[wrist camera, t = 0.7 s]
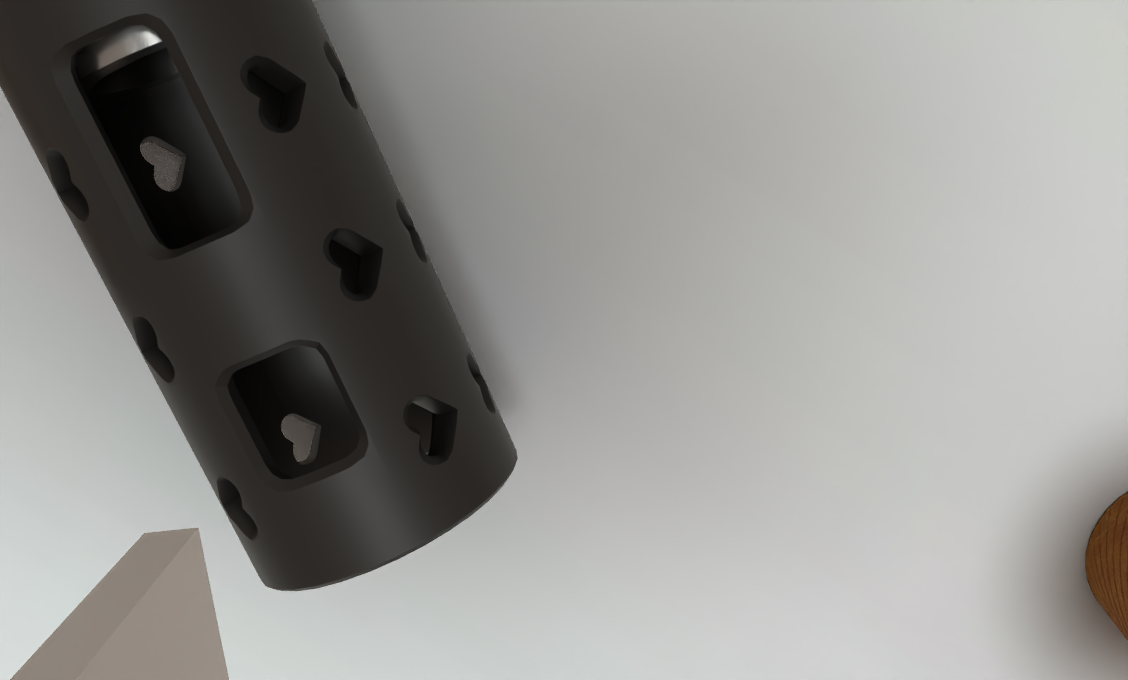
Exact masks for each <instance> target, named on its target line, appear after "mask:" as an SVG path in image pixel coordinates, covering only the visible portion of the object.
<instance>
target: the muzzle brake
mask: <svg viewBox="0 0 1128 680" xmlns="http://www.w3.org/2000/svg"><path fill="white" fill-rule="evenodd" d="M0 87H1V89H2V91H3V92H4V94H5V96H6V98H7V100H8V102H9V104H10V106H11V108H12V109H13V111H14V113H15V115H16V117H17V119H18V121H19V123H20V125H21V127H22V128H23V130H24V132H25V134H26V136H27V138H28V140H29V142H30V144H31V145H32V147H33V149H34V151H35V153H36V155H37V157H38V159H39V161H40V162H41V164H42V166H43V168H44V170H45V172H46V174H47V176H48V178H49V180H50V181H51V183H52V185H53V187H54V189H55V191H56V193H57V195H58V197H59V198H60V200H61V202H62V204H63V206H64V208H65V210H66V212H67V214H68V215H69V217H70V219H71V221H72V223H73V225H74V227H75V229H76V231H77V233H78V234H79V236H80V238H81V240H82V242H83V244H84V246H85V248H86V250H87V251H88V253H89V255H90V257H91V259H92V261H93V263H94V265H95V267H96V268H97V270H98V272H99V274H100V276H101V278H102V280H103V282H104V284H105V286H106V287H107V289H108V291H109V293H110V295H111V297H112V299H113V301H114V303H115V304H116V306H117V308H118V310H119V312H120V314H121V316H122V318H123V320H124V321H125V323H126V325H127V327H128V329H129V331H130V333H131V335H132V337H133V339H134V340H135V342H136V344H137V346H138V348H139V350H140V352H141V354H142V356H143V357H144V359H145V361H146V363H147V365H148V367H149V369H150V371H151V373H152V374H153V376H154V378H155V380H156V382H157V384H158V386H159V388H160V390H161V392H162V393H163V395H164V397H165V399H166V401H167V403H168V405H169V407H170V409H171V410H172V412H173V414H174V416H175V418H176V420H177V422H178V424H179V426H180V427H181V429H182V431H183V433H184V435H185V437H186V439H187V441H188V443H189V445H190V446H191V448H192V450H193V452H194V454H195V456H196V458H197V460H198V462H199V463H200V465H201V467H202V469H203V471H204V473H205V475H206V477H207V479H208V481H209V482H210V484H211V486H212V488H213V490H214V492H215V494H216V496H217V498H218V499H219V501H220V503H221V505H222V507H223V509H224V511H225V513H226V515H227V516H228V518H229V520H230V522H231V524H232V526H233V528H234V530H235V532H236V534H237V535H238V537H239V539H240V541H241V543H242V545H243V547H244V549H245V551H246V552H247V554H248V556H249V558H250V560H251V562H252V564H253V566H254V568H255V569H256V571H257V573H258V575H259V577H260V579H261V580H262V582H263V583H264V584H265V586H267V587H270V588H273V589H276V590H281V591H301V590H308V589H315V588H320V587H324V586H328V585H331V584H335V583H339V582H342V581H345V580H348V579H351V578H353V577H356V576H359V575H362V574H365V573H367V572H370V571H372V570H375V569H377V568H379V567H381V566H384V565H386V564H388V563H390V562H393V561H395V560H397V559H399V558H401V557H403V556H405V555H407V554H409V553H411V552H413V551H415V550H417V549H419V548H421V547H422V546H424V545H426V544H428V543H429V542H431V541H433V540H434V539H436V538H438V537H439V536H441V535H443V534H444V533H446V532H448V531H449V530H451V529H452V528H454V527H455V526H457V525H458V524H459V523H461V522H462V521H464V520H465V519H467V518H468V517H469V516H471V515H472V514H473V513H475V512H476V511H477V510H478V509H479V508H481V507H482V506H483V505H484V504H485V503H487V502H488V501H489V500H490V499H491V498H492V497H493V496H494V495H495V494H496V493H497V492H498V491H499V489H500V488H501V487H502V486H503V485H504V483H505V482H506V480H507V479H508V478H509V476H510V475H511V473H512V471H513V469H514V467H515V464H516V461H517V452H516V448H515V446H514V444H513V442H512V440H511V437H510V435H509V433H508V431H507V429H506V426H505V424H504V422H503V420H502V418H501V415H500V413H499V411H498V409H497V407H496V404H495V402H494V400H493V398H492V396H491V393H490V391H489V389H488V387H487V385H486V382H485V380H484V379H483V377H482V375H481V373H480V370H479V367H478V365H477V363H476V360H475V358H474V356H473V354H472V352H471V349H470V347H469V345H468V343H467V341H466V338H465V336H464V334H463V332H462V330H461V327H460V325H459V323H458V321H457V319H456V316H455V314H454V312H453V310H452V308H451V305H450V303H449V301H448V299H447V297H446V295H445V292H444V290H443V288H442V286H441V284H440V281H439V279H438V277H437V275H436V273H435V270H434V268H433V266H432V264H431V262H430V259H429V257H428V255H427V253H426V251H425V248H424V246H423V244H422V242H421V240H420V237H419V235H418V233H417V232H416V230H415V228H414V226H413V222H412V220H411V218H410V215H409V213H408V211H407V209H406V207H405V204H404V202H403V200H402V198H401V196H400V193H399V191H398V189H397V187H396V185H395V182H394V180H393V178H392V176H391V174H390V171H389V169H388V167H387V165H386V163H385V160H384V158H383V156H382V154H381V152H380V149H379V147H378V145H377V143H376V141H375V138H374V136H373V134H372V132H371V130H370V127H369V125H368V123H367V121H366V119H365V116H364V114H363V112H362V110H361V108H360V105H359V103H358V101H357V99H356V97H355V94H354V92H353V90H352V88H351V86H350V84H349V82H348V80H347V79H346V76H345V73H344V70H343V68H342V66H341V64H340V62H339V59H338V57H337V55H336V53H335V51H334V48H333V46H332V44H331V42H330V40H329V37H328V35H327V33H326V31H325V29H324V26H323V24H322V22H321V20H320V18H319V15H318V13H317V11H316V9H315V7H314V4H313V2H312V0H0ZM145 142H150V143H155V144H157V145H159V146H161V147H163V148H165V149H167V150H168V151H170V152H172V153H175V154H177V155H179V156H181V157H183V158H182V162H181V165H180V168H179V172H178V176H177V181H176V185H175V186H174V188H173V189H172V190H171V191H170V192H169V191H165V190H163V189H161V188H160V187H159V186H158V185H157V184H156V182H155V180H154V166H153V165H151V164H150V163H149V162H147V161H146V160H145V159H144V158H143V156H142V154H141V152H140V145H141V144H143V143H145ZM285 416H293V417H295V418H297V419H300V420H302V421H304V422H307V423H309V424H312V425H314V426H317V427H316V431H315V434H314V437H313V442H312V446H311V450H310V454H309V456H308V457H307V459H306V460H304V461H302V462H297V461H296V459H295V457H294V454H293V442H291V441H289V440H288V439H286V438H285V437H284V435H283V433H282V432H281V423H282V420H283V419H284V417H285Z"/></svg>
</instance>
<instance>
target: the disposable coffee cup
mask: <svg viewBox="0 0 1128 680" xmlns="http://www.w3.org/2000/svg"><path fill="white" fill-rule="evenodd" d="M1086 571H1087V577H1088V582H1089V585H1090V587H1091V590H1092V592H1093V594H1094V596H1095V597H1096V599H1097V600H1098V602H1099V603H1100V604H1101V606H1102V607H1103V608H1104V609H1105V611H1106V612H1107V613H1108V615H1109V616H1110V617H1111V619H1112V620H1113V621H1114V623H1115V624H1116V625H1117V627H1118V628H1119V629H1120V631H1121V632H1122V633H1123V635H1124V636H1125V637H1126V639H1127V640H1128V493H1126V494H1125V495H1123V496H1122V497H1120V498H1119V499H1118V500H1117V501H1116V502H1115V503H1114V504H1113V505H1112V506H1111V507H1110V508H1109V509H1107V511H1106V512H1105V514H1104V515H1103V516H1102V518H1101V519H1100V521H1099V522H1098V524H1097V525H1096V527H1095V529H1094V531H1093V533H1092V535H1091V537H1090V541H1089V545H1088V549H1087V554H1086Z"/></svg>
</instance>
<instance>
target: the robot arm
mask: <svg viewBox="0 0 1128 680" xmlns="http://www.w3.org/2000/svg"><path fill="white" fill-rule="evenodd" d="M10 680H229V678H228V673H227V668H226V663H225V658H224V653H223V648H222V643H221V638H220V633H219V628H218V623H217V618H216V613H215V608H214V604H213V599H212V594H211V589H210V584H209V579H208V574H207V569H206V564H205V559H204V554H203V549H202V544H201V539H200V534H199V529H198V528H191V529H181V530H172V531H162V532H152V533H144V534H143V535H142V536H141V537H140V539H139V540H138V541H137V542H136V543H135V544H134V545H133V546H132V547H131V548H130V549H129V551H128V552H127V553H126V554H125V555H124V556H123V557H122V558H121V559H120V560H119V561H118V563H117V564H116V565H115V566H114V567H113V568H112V569H111V570H110V571H109V572H108V573H107V575H106V576H105V577H104V578H103V579H102V580H101V581H100V582H99V583H98V584H97V586H96V587H95V588H94V589H93V590H92V591H91V592H90V593H89V594H88V595H87V596H86V598H85V599H84V600H83V601H82V602H81V603H80V604H79V605H78V606H77V607H76V608H75V610H74V611H73V612H72V613H71V614H70V615H69V616H68V617H67V618H66V619H65V620H64V622H63V623H62V624H61V625H60V626H59V627H58V628H57V629H56V630H55V631H54V632H53V634H52V635H51V636H50V637H49V638H48V639H47V640H46V641H45V642H44V643H43V644H42V646H41V647H40V648H39V649H38V650H37V651H36V652H35V653H34V654H33V655H32V656H31V658H30V659H29V660H28V661H27V662H26V663H25V664H24V665H23V666H22V667H21V668H20V670H19V671H18V672H17V673H16V674H15V675H14V676H13V677H12V678H11V679H10Z"/></svg>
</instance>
